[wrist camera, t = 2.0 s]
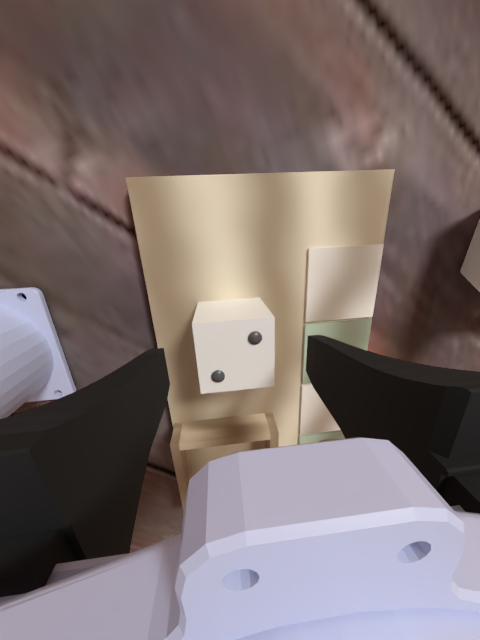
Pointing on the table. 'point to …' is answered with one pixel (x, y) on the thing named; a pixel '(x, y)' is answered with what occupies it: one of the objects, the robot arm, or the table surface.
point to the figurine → (473, 260)
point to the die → (234, 345)
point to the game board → (258, 292)
